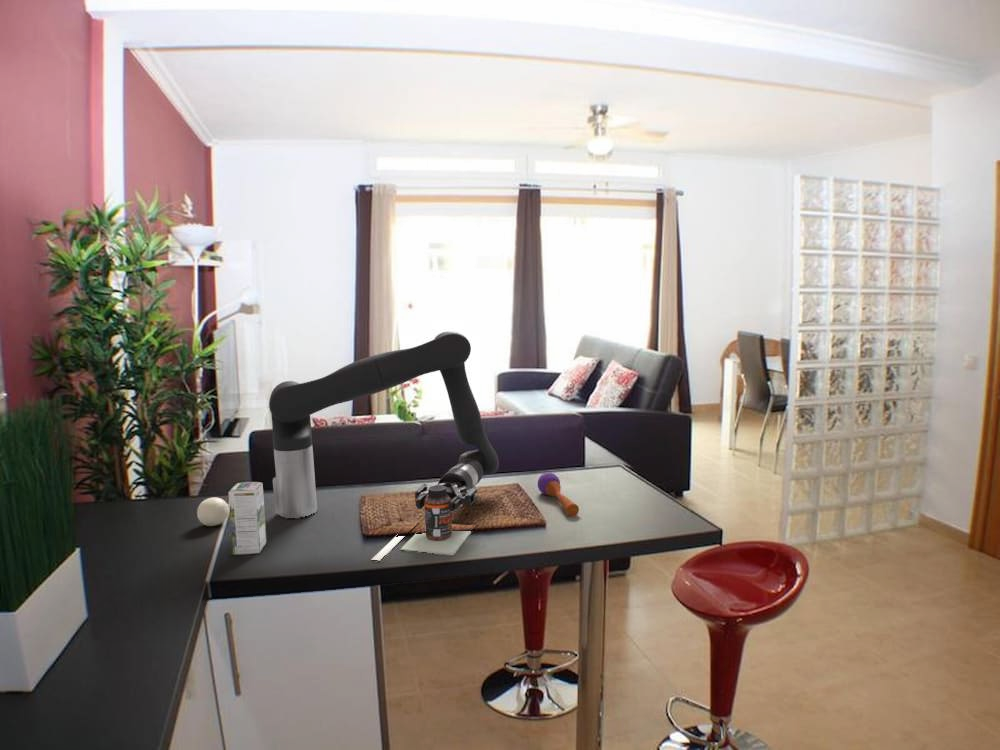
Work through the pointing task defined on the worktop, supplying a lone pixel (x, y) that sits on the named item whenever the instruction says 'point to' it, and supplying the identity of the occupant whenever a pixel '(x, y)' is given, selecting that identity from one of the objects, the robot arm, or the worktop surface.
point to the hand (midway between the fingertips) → (434, 505)
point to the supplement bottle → (438, 513)
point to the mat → (437, 543)
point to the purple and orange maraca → (556, 492)
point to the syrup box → (247, 518)
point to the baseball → (212, 511)
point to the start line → (388, 548)
